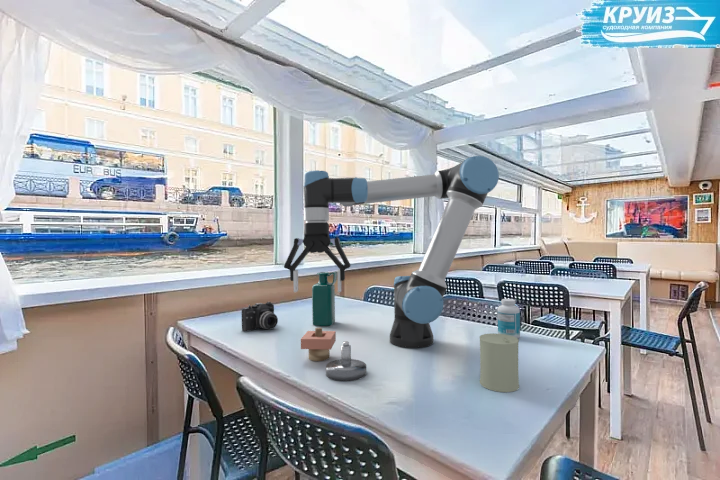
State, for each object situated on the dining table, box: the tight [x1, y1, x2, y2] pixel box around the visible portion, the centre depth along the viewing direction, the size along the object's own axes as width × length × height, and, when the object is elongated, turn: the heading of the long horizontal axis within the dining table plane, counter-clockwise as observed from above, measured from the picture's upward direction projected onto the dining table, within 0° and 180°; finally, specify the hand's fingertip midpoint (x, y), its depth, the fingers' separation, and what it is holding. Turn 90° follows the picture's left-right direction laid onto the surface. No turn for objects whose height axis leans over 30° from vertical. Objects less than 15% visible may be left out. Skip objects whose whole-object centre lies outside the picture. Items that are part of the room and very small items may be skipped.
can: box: [479, 333, 520, 393], centre depth 91 cm, size 9×9×12 cm
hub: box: [325, 341, 367, 382], centre depth 100 cm, size 11×11×8 cm
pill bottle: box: [497, 298, 521, 340], centre depth 131 cm, size 8×7×14 cm
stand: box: [308, 327, 331, 362], centre depth 112 cm, size 6×6×9 cm
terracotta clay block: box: [300, 330, 337, 351], centre depth 112 cm, size 9×9×3 cm
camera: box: [241, 301, 279, 332], centre depth 148 cm, size 14×11×10 cm
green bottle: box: [311, 271, 338, 327], centre depth 155 cm, size 10×8×22 cm
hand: (317, 291), depth 112 cm, fingers open, 13 cm apart
